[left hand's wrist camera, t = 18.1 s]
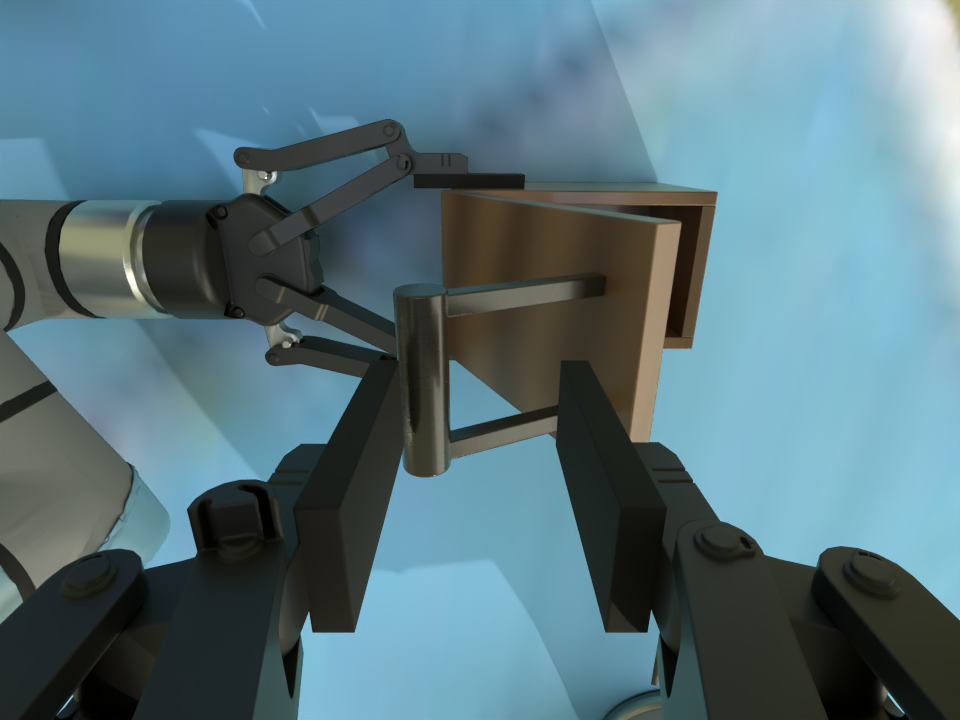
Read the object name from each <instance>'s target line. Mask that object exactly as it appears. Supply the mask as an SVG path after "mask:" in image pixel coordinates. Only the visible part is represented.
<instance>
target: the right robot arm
mask: <svg viewBox="0 0 960 720" xmlns="http://www.w3.org/2000/svg"><path fill="white" fill-rule="evenodd" d="M384 146H386V149H387V151H388V154H389V156H390V159H388V160H386V161H385V162H383V163H381V164H379V165H378V166H376V167H374V168H372V169H371V170H369V171H367V172H366V173H364V174H362V175H360V176H359V177H357V178H355V179H353V180H352V181H350V182H348V183H347V184H345V185H343V186H341V187H340V188H338V189H336V190H334V191H333V192H331V193H329V194H327V195H326V196H324V197H322V198H321V199H319V200H317V201H315V202H314V203H312V204H310V205H308V206H306V207H304V208H302V209H300V210H299V211H297V212H295V213H292V212H291V211H289V210H288V209H286V208H285V207H283V206H282V205H280V204H279V203H278V202H276V201H275V200H273V199H272V198H270V197H269V196H267V195H266V189H267V187H268V186H270V185H271V184H277V183H279V182H280V181H281V179H282V171H291V170H298V169H303V168H306V167H310V166H314V165H317V164H321V163H325V162H329V161H332V160H336V159H340V158H343V157H347V156H351V155H355V154H358V153H362V152H366V151H369V150H373V149H377V148H381V147H384ZM234 161H235V163H236V164H237V165H238V166H239V167H240V168H242V172H243V190H244V194H242V195H240V196H238V197H237V198H235V199H233V200H169V201H165V202H163V203H162V202H159V201H156V200H81V201H48V200H5V199H0V624H1V623H2V622H3V621H4V620H5V619H6V618H7V617H8V616H9V615H10V614H11V613H12V612H13V611H14V610H15V609H16V608H17V607H18V606H20V605H21V604H22V603H23V602H24V601H25V600H26V599H27V598H28V597H29V596H30V595H31V594H32V593H33V592H34V591H35V590H36V589H37V588H38V587H39V586H40V585H41V584H43V583H44V582H45V581H46V580H47V579H48V578H49V577H50V576H52V575H53V574H54V573H56V572H57V571H58V570H60V569H61V568H62V567H64V566H65V565H67V564H69V563H71V562H73V561H75V560H77V559H79V558H81V557H83V556H86V555H89V554H93V553H95V552H99V551H102V550H110V549H118V548H121V549H126V550H132V551H134V552H135V553H136V554H138V555H139V556H140V557H141V560H142V563H143V566H145V565H146V564H147V563H148V562H149V561H150V560H151V559H152V558H153V557H154V555H155V554H156V553H157V552H158V550H159V549H160V548H161V546H162V545H163V543H164V541H165V539H166V538H167V535H168V533H169V529H170V517H169V514H168V512H167V510H166V509H165V508H164V507H163V505H162V504H161V503H160V502H159V500H158V499H157V498H156V497H155V495H154V494H153V493H152V492H151V490H150V489H149V488H148V487H147V485H146V484H145V483H144V482H143V480H142V479H141V478H140V477H139V474H138V471H137V470H136V469H135V467H134V466H133V465H131V464H129V463H128V462H126V461H125V460H124V459H123V458H122V457H121V456H120V455H119V454H118V453H117V452H116V451H115V450H114V449H113V448H112V447H111V446H110V445H109V444H108V443H107V442H106V441H105V440H104V439H103V438H102V437H101V435H100V434H99V433H98V432H97V431H96V430H95V429H94V428H93V427H92V426H91V425H90V424H89V423H88V422H87V421H86V420H85V419H84V418H83V417H82V416H81V415H80V414H79V413H78V412H77V411H76V410H75V409H74V408H73V406H72V405H71V404H70V403H69V402H68V401H67V400H66V399H65V398H64V397H63V396H62V395H61V394H60V393H59V392H58V391H57V388H56V387H55V386H54V385H53V384H52V383H51V382H50V381H49V379H48V378H47V377H46V376H45V375H44V374H43V373H42V372H41V371H40V369H39V368H38V367H37V366H36V365H35V364H34V363H33V362H32V361H31V360H30V359H29V357H28V356H27V355H26V354H25V353H24V352H23V351H22V350H21V349H20V348H19V347H18V345H17V344H16V343H15V342H14V341H13V340H12V339H11V338H10V337H9V336H8V335H7V333H6V332H8V331H10V330H13V329H15V328H18V327H21V326H23V325H26V324H29V323H31V322H34V321H39V320H44V319H56V318H123V319H170V318H173V317H177V318H180V319H247V320H251V321H253V322H256V323H258V324H260V325H262V326H264V327H265V331H266V335H267V338H268V342H269V346H270V349H269V350H268V351H267V352H266V354H265V359H266V361H267V362H268V363H269V364H270V365H272V366H281V365H292V364H304V365H308V366H313V367H317V368H321V369H326V370H330V371H335V372H339V373H343V374H348V375H352V376H356V377H361V378H363V376H364V374H365V373H366V371H367V369H368V367H369V365H370V363H371V361H372V360H397V350H396V332H395V323H393V322H391V321H389V320H387V319H385V318H383V317H381V316H379V315H377V314H375V313H373V312H371V311H369V310H367V309H365V308H363V307H361V306H359V305H357V304H355V303H353V302H351V301H349V300H347V299H345V298H343V297H341V296H339V295H338V294H337V293H336V292H335V291H334V290H332V289H330V288H328V287H326V286H324V285H322V284H321V283H322V282H324V281H323V271H322V268H321V265H320V263H319V260H318V255H319V249H320V244H319V235H316V234H315V232H314V230H313V229H315V228H316V227H318V226H320V225H322V224H323V223H325V222H327V221H329V220H330V219H332V218H333V217H335V216H337V215H339V214H340V213H342V212H344V211H346V210H347V209H349V208H351V207H353V206H355V205H356V204H358V203H360V202H362V201H363V200H365V199H367V198H369V197H370V196H372V195H374V194H376V193H377V192H379V191H381V190H383V189H384V188H386V187H388V186H390V185H391V184H393V183H395V182H397V181H399V180H400V179H402V178H404V177H406V176H407V175H414V188H524V187H525V175H523V174H495V173H468V157H466V156H464V155H462V154H459V153H418V152H415V151H414V150H413V149H412V148H411V146H410V144H409V142H408V139H407V137H406V134H405V129H404V127H403V126H402V125H401V124H400V123H398V122H396V121H394V120H391V119H385V120H382V121H378V122H374V123H371V124H367V125H363V126H360V127H356V128H353V129H349V130H345V131H342V132H338V133H334V134H331V135H327V136H323V137H320V138H316V139H312V140H309V141H305V142H301V143H298V144H294V145H290V146H287V147H283V148H280V149H267V148H257V147H239V148H238V149H236V150H235V152H234ZM295 311H296V312H298V313H300V314H302V315H304V316H306V317H309V318H311V319H313V320H321V321H324V322H326V323H328V324H330V325H332V326H334V327H336V328H338V329H341V330H343V331H345V332H347V333H349V334H351V335H353V336H355V337H357V338H359V339H361V340H363V341H365V342H367V343H370V344H372V345H374V346H376V347H378V348H380V349H382V350H384V351H386V352H388V353H385V352H381V351H376V350H372V349H368V348H364V347H359V346H355V345H351V344H347V343H342V342H338V341H334V340H330V339H325V338H321V337H316V336H303V335H302V333H301V331H300V330H297V329H292V328H289V327H287V326H286V325H285V323H284V321H283V320H284V319H285V318H287V317H288V316H289V315H291V314H292V313H293V312H295ZM389 353H390V354H389ZM449 360H454V359H453V358H452V357H450V356H449Z"/></svg>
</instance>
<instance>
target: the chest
mask: <svg viewBox="0 0 960 720" xmlns="http://www.w3.org/2000/svg"><path fill="white" fill-rule="evenodd" d="M451 190H459V191H466V192H473V193H480V194H488V195H495V196H502V197H509V198H516V199H524V200H531V201H538V202H545V203H553V204H560V205H567V206H574V207H581V208H589V209H596V210H603V211H610V212H618V213H625V214H632V215H639V216H646V217H654V218H661V219H668V220H675V221H680V222H681V230H680V237H679V244H678V250H677V257H676V264H675V271H674V278H673V284H672V291H671V298H670V305H669V311H668V318H667V325H666V332H665V339H664V345H663V349H692V344H693V337H694V332H695V326H696V320H697V314H698V308H699V302H700V297H701V291H702V285H703V279H704V273H705V267H706V261H707V255H708V249H709V243H710V238H711V232H712V226H713V220H714V214H715V208H716V206H715V205H716V200H717V195H718V192H715V191H709V190H702V189H696V188H689V187H682V186H676V185H669V184H663V183H597V182H525V187H524V188H452V189H451Z"/></svg>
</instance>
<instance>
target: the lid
mask: <svg viewBox="0 0 960 720" xmlns="http://www.w3.org/2000/svg"><path fill="white" fill-rule="evenodd" d="M441 211H442V261H443V286H440V285H435V284H409V285H404V286H400V287H398V288H396V289H395V290H394V292H393V297H394V314H395V332H396V350H397V360H399V368H400V384H401V400H402V417H403V433H404V448H403V452H402V456H403V467H404V469H405V470H406V472H408V473H409V474H411V475H413V476H417V477H434V476H437V475H440V474H442V473H444V472H445V471H446V470H448V468H449V466H450V464H451V459H455V458H459V457H462V456H466V455H470V454H473V453H477V452H481V451H484V450H488V449H492V448H496V447H499V446H503V445H507V444H510V443H514V442H518V441H521V440H525V439H529V438H532V437H536V436H540V435H544V434H547V433H548V434H549V435H551V436H552V437H553V438H554V439H556V433H557V417H558V400H559V384H560V368H561V360H588V361H589V363H590V365H591V367H592V369H593V371H594V373H595V374H596V376H597V378H598V380H599V382H600V384H601V386H602V387H603V389H604V391H605V393H606V395H607V397H608V399H609V400H610V402H611V404H612V406H613V408H614V410H615V412H616V413H617V415H618V417H619V419H620V421H621V423H622V425H623V427H624V428H625V430H626V432H627V434H628V436H629V438H630V440H631V441H632V442H649V440H650V434H651V427H652V420H653V413H654V406H655V400H656V393H657V386H658V379H659V372H660V366H661V359H662V352H663V345H664V339H665V332H666V325H667V318H668V311H669V305H670V298H671V291H672V284H673V278H674V271H675V264H676V257H677V250H678V244H679V237H680V230H681V222H680V221H675V220H668V219H661V218H654V217H646V216H639V215H632V214H625V213H618V212H610V211H603V210H596V209H589V208H581V207H574V206H567V205H560V204H553V203H545V202H538V201H531V200H524V199H516V198H509V197H502V196H495V195H488V194H480V193H473V192H466V191H459V190H450V191H441ZM449 356H450V357H452V358H453V359H454V360H456V361H457V362H458V363H459V364H461V365H462V366H463V367H464V368H466V369H467V370H468V371H469V372H471V373H472V374H473V375H475V376H476V377H477V378H478V379H480V380H481V381H482V382H483V383H485V384H486V385H487V386H488V387H490V388H491V389H492V390H494V391H495V392H496V393H497V394H499V395H500V396H501V397H502V398H504V399H505V400H506V401H507V402H509V403H510V404H511V405H513V406H514V407H515V408H516V409H518V410H519V411H520V412H521V414H517V415H513V416H509V417H505V418H501V419H497V420H493V421H489V422H484V423H480V424H476V425H472V426H468V427H464V428H460V429H456V430H452V431H450V384H449Z"/></svg>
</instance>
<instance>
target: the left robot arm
mask: <svg viewBox="0 0 960 720" xmlns="http://www.w3.org/2000/svg"><path fill="white" fill-rule="evenodd" d="M403 448H404V433H403V417H402V400H401V384H400V368H399V360H372V361H371V363H370V365H369V367H368V369H367V371H366V373H365V374H364V376H363V378H362V380H361V382H360V384H359V386H358V387H357V389H356V391H355V393H354V395H353V397H352V399H351V400H350V402H349V404H348V406H347V408H346V410H345V412H344V413H343V415H342V417H341V419H340V421H339V423H338V425H337V426H336V428H335V430H334V432H333V434H332V436H331V438H330V440H329V441H328V443H327V444H301V445H299V446H298V447H296V448H295V449H294V450H292V451H291V452H289V453H288V454H287V455H285V456H284V457H283V459H282V460H281V462H280V463H279V465H278V466H277V468H276V469H275V473H273V474H272V476H271V477H270V479H269V480H268V482H264V481H260V480H256V479H254V480H237V481H233V482H228V483H224V484H221V485H219V486H217V487H214V488H212V489H210V490H207V491H206V492H205V493H203V494H202V495H200V496H199V497H197V498H196V499H195V500H194V501H193V502H192V504H191V505H190V506H189V507H188V509H187V512H188V516H189V520H190V524H191V528H192V532H193V536H194V540H195V544H196V548H197V554H196V557H194V558H191V559H187V560H184V561H180V562H176V563H171V564H167V565H162V566H158V567H153V568H149V569H144V566H143V563H142V560H141V557H140V556H139V555H138V554H136V553H135V552H134V551H132V550H126V549H121V548H118V549H110V550H102V551H99V552H95V553H93V554H89V555H86V556H83V557H81V558H79V559H77V560H75V561H73V562H71V563H69V564H67V565H65V566H64V567H62V568H61V569H60V570H58V571H57V572H56V573H54V574H53V575H52V576H50V577H49V578H48V579H47V580H46V581H45V582H44V583H43V584H41V585H40V586H39V587H38V588H37V589H36V590H35V591H34V592H33V593H32V594H31V595H30V596H29V597H28V598H27V599H26V600H25V601H24V602H23V603H22V604H21V605H20V606H18V607H17V608H16V609H15V610H14V611H13V612H12V613H11V614H10V615H9V616H8V617H7V618H6V619H5V620H4V621H3V622H2V623H1V624H0V720H297V717H298V707H299V696H300V686H301V675H302V665H303V654H304V653H303V646H302V640H301V634H300V633H301V630H302V628H303V625H304V623H305V620H306V617H307V615H308V612H309V613H310V619H311V625H312V632H313V633H354V632H355V629H356V625H357V621H358V617H359V614H360V610H361V606H362V602H363V598H364V595H365V591H366V587H367V583H368V580H369V576H370V572H371V568H372V565H373V561H374V557H375V553H376V549H377V546H378V542H379V538H380V534H381V531H382V527H383V523H384V519H385V516H386V512H387V508H388V504H389V501H390V497H391V493H392V489H393V485H394V482H395V478H396V474H397V470H398V467H399V463H400V459H401V455H402V452H403ZM556 448H557V452H558V455H559V459H560V463H561V467H562V470H563V474H564V478H565V482H566V485H567V489H568V493H569V497H570V501H571V504H572V508H573V512H574V516H575V519H576V523H577V527H578V531H579V534H580V538H581V542H582V546H583V549H584V553H585V557H586V561H587V565H588V568H589V572H590V576H591V580H592V583H593V587H594V591H595V595H596V598H597V602H598V606H599V610H600V614H601V617H602V621H603V625H604V629H605V632H606V633H647V632H648V625H649V619H650V613H651V610H652V612H653V615H654V617H655V620H656V623H657V625H658V628H659V631H660V634H659V640H658V646H657V652H656V658H655V663H654V669H653V675H652V682H651V684H652V685H657V686H658V682H659V684H660V691H657V692H651V693H647V694H643V695H640V696H637V697H635V698H632V699H630V700H628V701H626V702H624V703H622V704H621V705H619V706H618V707H616V708H615V709H614V710H613V711H612V712H610V713H609V715H608V716H607V717H606V718H605V719H604V720H960V620H959V619H958V618H957V617H956V616H954V615H953V614H952V613H951V612H950V611H949V610H948V609H947V608H946V607H945V606H944V605H943V604H942V603H941V602H940V601H939V600H938V599H937V598H936V597H934V596H933V595H932V594H931V593H930V592H929V591H928V590H927V589H926V588H925V587H924V586H923V585H922V584H921V583H920V582H919V581H918V580H917V579H916V578H914V577H913V576H912V575H911V574H909V573H908V572H907V571H906V570H904V569H903V568H902V567H900V566H899V565H898V564H896V563H894V562H892V561H890V560H888V559H886V558H884V557H882V556H880V555H878V554H875V553H872V552H869V551H866V550H862V549H859V548H852V547H844V546H839V547H833V548H828V549H826V550H825V551H824V552H823V553H822V554H820V556H819V560H818V563H817V566H816V567H812V566H808V565H803V564H799V563H794V562H790V561H785V560H780V559H777V558H773V557H770V556H766V555H764V553H763V551H762V549H761V548H760V546H759V545H758V543H757V542H756V540H754V539H753V538H752V537H751V536H749V535H748V534H747V533H746V532H744V531H743V530H741V529H739V528H737V527H735V526H733V525H731V524H729V523H725V522H721V521H720V520H719V519H718V517H717V516H716V514H715V513H714V511H713V510H712V508H711V507H710V505H709V504H708V502H707V500H706V499H705V497H704V496H703V494H702V493H701V491H700V490H699V488H698V487H697V485H696V484H695V483H693V479H692V478H691V476H690V475H689V473H688V472H687V471H685V467H684V466H683V464H682V463H681V461H680V460H679V458H678V457H677V455H676V454H675V453H673V452H672V451H670V450H669V449H668V448H666V447H665V446H663V445H662V444H660V443H659V442H632V441H631V440H630V438H629V436H628V434H627V432H626V430H625V428H624V427H623V425H622V423H621V421H620V419H619V417H618V415H617V413H616V412H615V410H614V408H613V406H612V404H611V402H610V400H609V399H608V397H607V395H606V393H605V391H604V389H603V387H602V386H601V384H600V382H599V380H598V378H597V376H596V374H595V373H594V371H593V369H592V367H591V365H590V363H589V361H588V360H561V368H560V384H559V400H558V417H557V433H556ZM888 692H889V693H890V695H891V696H892V697H893V698H894V700H895V701H896V702H897V704H898V705H899V706H900V707H901V709H902V710H903V711H904V713H905V714H904V713H903V712H902V711H901V710H900V709H899V708H898V707H897V706H896V705H895V704H894V703H893V701H892V700H891V699H890V697H889V696H888ZM72 695H73V698H72V699H71V700H70V702H69V703H68V704H67V705H66V707H65V708H64V709H63V710H62V711H61V712H60V713H59V711H60V710H61V709H62V707H63V706H64V705H65V703H66V702H67V701H68V700H69V698H70V697H71V696H72ZM58 713H59V714H58ZM57 714H58V715H57ZM56 715H57V716H56Z"/></svg>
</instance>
